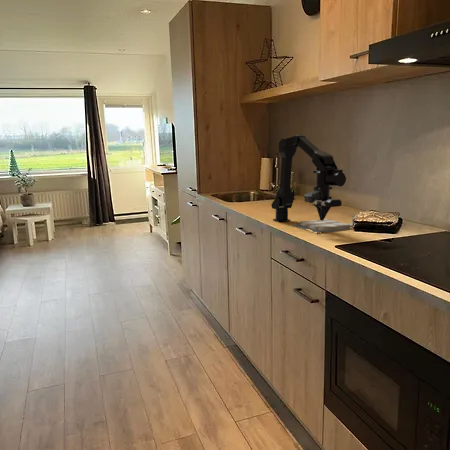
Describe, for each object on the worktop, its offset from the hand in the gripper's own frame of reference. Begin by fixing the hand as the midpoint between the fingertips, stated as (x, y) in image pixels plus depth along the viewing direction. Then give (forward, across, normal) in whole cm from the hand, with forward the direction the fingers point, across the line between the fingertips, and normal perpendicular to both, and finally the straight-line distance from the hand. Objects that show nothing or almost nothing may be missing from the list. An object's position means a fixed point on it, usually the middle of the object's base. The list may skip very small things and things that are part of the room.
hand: (321, 220), depth 181 cm
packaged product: (+5, -3, +25) cm, 26 cm away
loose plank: (+4, -6, +3) cm, 8 cm away
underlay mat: (+5, -6, +4) cm, 9 cm away
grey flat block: (+5, -6, +11) cm, 13 cm away
